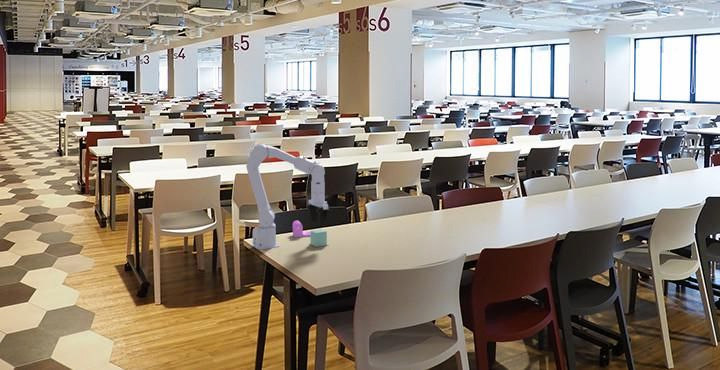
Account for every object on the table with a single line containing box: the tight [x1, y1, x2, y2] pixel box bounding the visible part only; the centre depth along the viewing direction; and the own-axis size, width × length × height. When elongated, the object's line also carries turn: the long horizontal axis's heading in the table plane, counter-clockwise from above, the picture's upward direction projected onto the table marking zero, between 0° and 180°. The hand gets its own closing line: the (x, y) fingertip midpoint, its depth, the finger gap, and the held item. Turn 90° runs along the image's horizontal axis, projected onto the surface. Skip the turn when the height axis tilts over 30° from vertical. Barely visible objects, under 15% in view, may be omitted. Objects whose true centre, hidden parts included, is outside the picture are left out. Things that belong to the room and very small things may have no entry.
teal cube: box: [309, 229, 328, 248], centre depth 272 cm, size 5×5×6 cm
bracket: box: [292, 220, 310, 238], centre depth 291 cm, size 13×6×7 cm, turn 104°
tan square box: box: [308, 243, 329, 248], centre depth 273 cm, size 6×6×4 cm
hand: (318, 223), depth 271 cm, fingers open, 7 cm apart
